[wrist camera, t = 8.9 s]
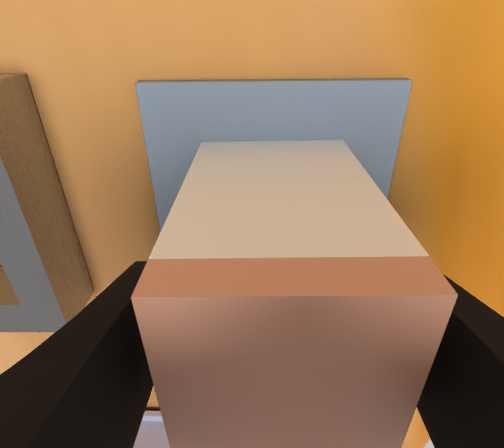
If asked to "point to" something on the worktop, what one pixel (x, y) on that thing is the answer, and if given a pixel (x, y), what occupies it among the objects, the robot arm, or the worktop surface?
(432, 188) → the worktop surface
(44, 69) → the worktop surface
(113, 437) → the robot arm
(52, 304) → the frame
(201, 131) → the rubber mat
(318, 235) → the beige pink box
